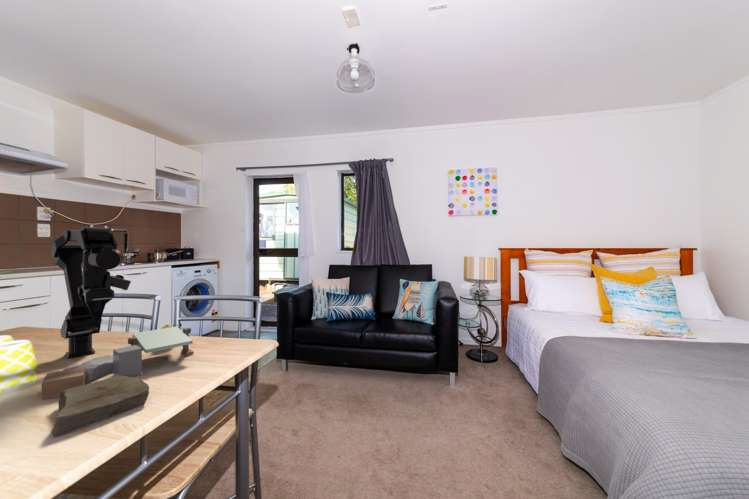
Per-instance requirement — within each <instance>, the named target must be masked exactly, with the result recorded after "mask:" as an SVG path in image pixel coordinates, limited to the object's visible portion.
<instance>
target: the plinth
mask: <svg viewBox="0 0 749 499" xmlns="http://www.w3.org/2000/svg"><path fill="white" fill-rule="evenodd" d="M86 383H87V381H86V367H80V368H74V369H68V370H63V369H61V370H57V371H52V372H47V373H46V375H45V377H43V380H42V381H41V401H43V400H48V399H53V398H60V393H61V392H62V391H63V390H67V389H70V388H74V387H78V386H82V385H86Z"/></svg>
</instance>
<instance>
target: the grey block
mask: <svg viewBox="0 0 749 499" xmlns="http://www.w3.org/2000/svg"><path fill="white" fill-rule="evenodd" d="M112 352H113V354H112V355H113V372H112V377H114V376H127V377H135V378H139V377H142V376H143V375H142V374H143V372H142V371H143V370H142V369H143V359H142V357H143V354H142V353H143V351H142V348H140V347H139V346H137V345H133V346H131V345H129V346H122V347H118V348H114V349H112ZM141 375H142V376H141Z"/></svg>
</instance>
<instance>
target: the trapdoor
mask: <svg viewBox="0 0 749 499" xmlns="http://www.w3.org/2000/svg"><path fill="white" fill-rule="evenodd" d="M132 337H136V338H137V346H139V347H140V348H142V352H144V353H145V354H150V353H154V352H158V351H165V350H167V349H168V350H169V349H174V348H178V347H183V346H184V345H193V344H194V343H193V342H194V340H193V339H192V338H190V336H189V337H188V336H187V335H186V334H185V333H184V332H183V330H182V329H180V328H179V327H178V326H172V327H170V328H164V329H161V328H158V329H157V328H156V329H152V330H146V331H145V330H144V331H140V332H134V333H132Z"/></svg>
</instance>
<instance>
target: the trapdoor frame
mask: <svg viewBox="0 0 749 499" xmlns="http://www.w3.org/2000/svg"><path fill="white" fill-rule="evenodd" d="M182 332H184V333H185V334H186V335H187V336H188V337H189V338H190V336H189V334H191V333H192V328H191V327H183V328H182ZM127 344H128V345H130V346H133V345H137V338H136V337H133V336H130V337H127ZM189 345H190V344H189ZM189 345H184V346H182V349H180V350H181V352H180V353H181V354H182V355H184V356H186V357H188V356H193V355H194V350H192V349H190V348H189Z"/></svg>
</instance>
